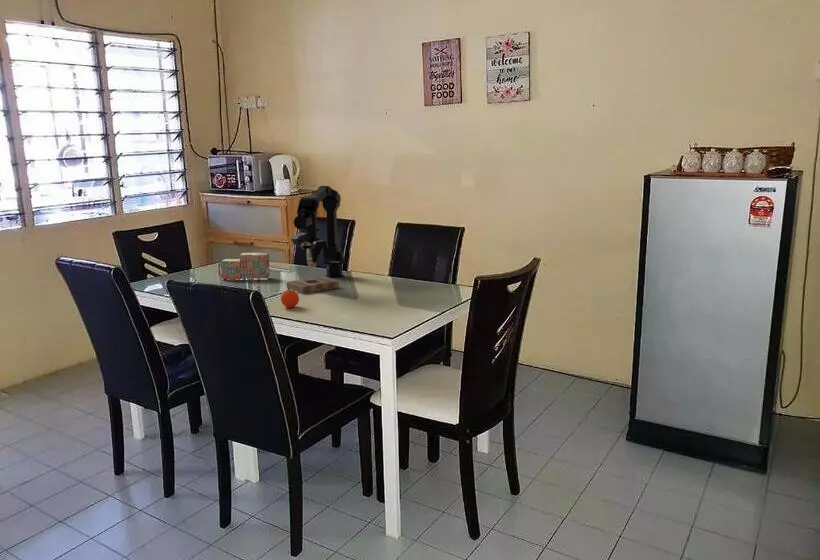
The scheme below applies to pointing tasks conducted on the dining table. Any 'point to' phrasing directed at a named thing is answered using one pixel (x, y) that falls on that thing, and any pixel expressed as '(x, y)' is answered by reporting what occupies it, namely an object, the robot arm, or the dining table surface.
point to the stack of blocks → (246, 266)
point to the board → (313, 284)
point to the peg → (310, 259)
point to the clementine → (290, 298)
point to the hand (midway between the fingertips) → (311, 262)
